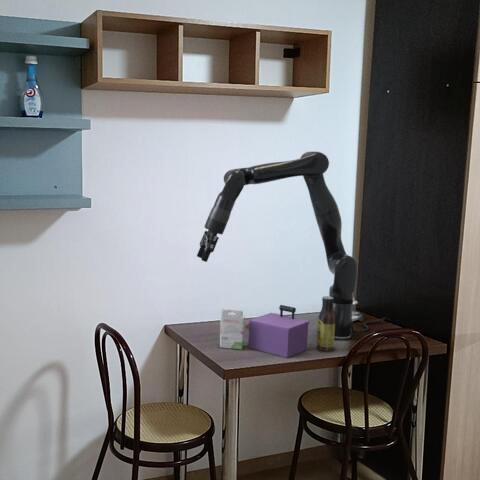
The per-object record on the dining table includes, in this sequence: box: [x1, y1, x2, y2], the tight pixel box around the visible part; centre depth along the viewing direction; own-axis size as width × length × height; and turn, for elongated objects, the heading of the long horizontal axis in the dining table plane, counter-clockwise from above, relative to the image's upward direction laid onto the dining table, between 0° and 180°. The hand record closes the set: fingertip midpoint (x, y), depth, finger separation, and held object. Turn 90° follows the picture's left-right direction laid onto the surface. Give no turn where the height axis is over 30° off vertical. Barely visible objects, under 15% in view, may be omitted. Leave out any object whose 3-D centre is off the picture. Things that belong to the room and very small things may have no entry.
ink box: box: [219, 308, 246, 350], centre depth 239 cm, size 9×5×15 cm, turn 74°
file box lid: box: [248, 304, 311, 331], centre depth 238 cm, size 15×17×5 cm
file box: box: [247, 322, 309, 358], centre depth 239 cm, size 14×17×10 cm
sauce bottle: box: [316, 295, 335, 352], centre depth 238 cm, size 6×6×20 cm
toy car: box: [352, 297, 364, 322], centre depth 281 cm, size 18×10×12 cm
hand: (201, 259), depth 244 cm, fingers open, 8 cm apart
